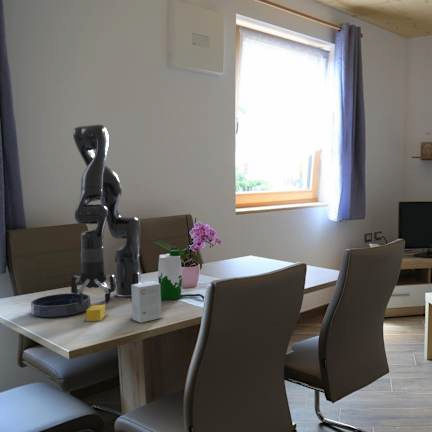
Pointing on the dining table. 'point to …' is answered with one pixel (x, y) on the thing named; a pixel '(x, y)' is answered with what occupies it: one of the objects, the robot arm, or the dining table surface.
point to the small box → (146, 301)
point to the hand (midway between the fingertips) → (94, 303)
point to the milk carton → (170, 275)
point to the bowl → (59, 305)
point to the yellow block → (95, 313)
